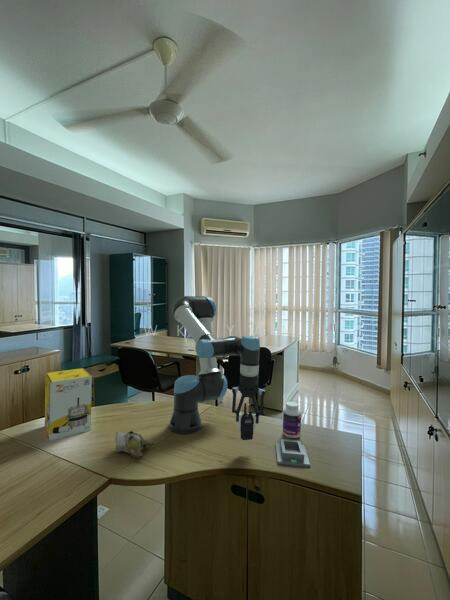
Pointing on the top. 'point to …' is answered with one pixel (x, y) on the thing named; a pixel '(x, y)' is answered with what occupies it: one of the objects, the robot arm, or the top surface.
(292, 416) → the pill bottle
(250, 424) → the two-way radio
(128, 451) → the ceramic sculpture
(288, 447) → the charging cradle
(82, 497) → the top surface
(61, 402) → the packaging box
